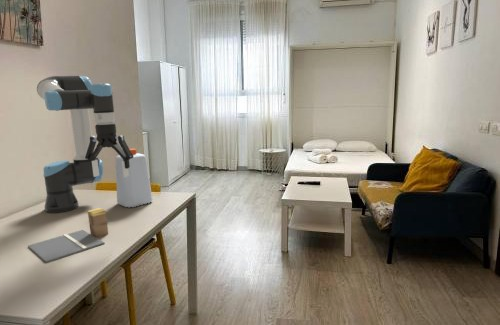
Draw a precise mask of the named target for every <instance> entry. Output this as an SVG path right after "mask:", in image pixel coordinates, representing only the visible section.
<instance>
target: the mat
mask: <svg viewBox="0 0 500 325" xmlns="http://www.w3.org/2000/svg"><path fill="white" fill-rule="evenodd" d="M102 245H105V242H104V241H103V240H101V239H99V237H97V238H96V237H94V236H92V235H91V233H89V232H88V231H86V230H83V229H80V230H78V231H74V232H70V233H64V234H62V235H60V236H57V237H53V238H50V239H46V240H42V241H38V242H35V243H32V244H28V245H27V246H28V248H29V249H30V250H31V251H32V252H34V253H35V254H36V255H37V256H38V257H39V258H40V259H41V260H42V259H43V260H42V261H44V262H45V263H50V262H53V261H56V260H60V259H63V258H66V257H68V256H72V255H75V254H78V253H81V252H84V251H86V250H90V249H93V248H96V247H99V246H102Z"/></svg>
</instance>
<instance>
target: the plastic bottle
mask: <svg viewBox="0 0 500 325" xmlns="http://www.w3.org/2000/svg"><path fill="white" fill-rule="evenodd" d="M129 149H130V151H131V153H132V155H133V158H131V159H130V160H129V165H130V167H129V168H128V172H129V176H127V177H123V168H122V161H123V159H122V158H121V156H120V155H119V154H118V155H116V157H115V174H116V179H115V180H116V182H115V184H116V203H117V204H118V205H120V206H123V208H124V207H125V208H127V207H128V208H129V209H131V208H130V207H132V208H136V206H137V207H140V206H139V205H141V206H144V205H143V204H145V205H147V203H148V204H151V203H152V202H153V194H152V189H151V181H150V174H149V169H148V163H147V158H146V155H145V154H143V153H139V152H137V149H136V148H129ZM150 202H151V203H150Z"/></svg>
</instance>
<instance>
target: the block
mask: <svg viewBox="0 0 500 325" xmlns="http://www.w3.org/2000/svg"><path fill="white" fill-rule="evenodd" d="M106 211H107V210H106V209H104V208H101V207H97V208H95V209H91V210H87V215H88V216H87V217H88V224H89V232H90V233H89V234H91V235H92V236H94V237H96V238H100V237H103V236H107V235H109V227H108V220H107V212H106Z"/></svg>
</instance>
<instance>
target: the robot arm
mask: <svg viewBox="0 0 500 325" xmlns="http://www.w3.org/2000/svg"><path fill="white" fill-rule="evenodd" d="M36 92H37V95H38V96H39V97H40V98H41V99H42V100H44V103H45V107H46V109H47V110H48V111H69V110H70V119H71V125H72V126H71V127H72V133H73V134H72V136H73V142H74V150H75V151H74V152H75V156H74V157H73V158H72V160H73V162H70V161H69V160H66V159H65V160H58V161H55V162H51V163H48V164H46V165H45V166H44V167H43V177H44V184H45V192H46V198H45V203H44V211H45V212H46V213H49V214H51V213H52V214H54V213H55V214H56V213H63V212H64V213H65V212H69V211H71V210H75V209H76V208H78V207H79V201H78V198H77V196H76V194H75V192H74V190H73V187H74V186H79V185H80V186H81V185H86V184H93V183H97V182H100V181H101V180H102V178H103V176H104V175H103V174H104V165H103V161H102V159H100V158H99V154H100V153H101V151H102V150H103V148H111V149H113V150H114V151H115V152H116V153H117V154H118V155H120V156H121V158H122V159H123V161H122V168H123V177H127V176H129V172H128V168H129V167H130V165H129V160H130V159H131V158H133V155H132V153H131V151H130V149H131V148H129V146H128V144H127V143H126V140H125V136H124V135H118V136H117V127H116V124H115V122H116V116H115V107H114V96H113V93H114V92H113V89H112V86H111V84H110V83H92V81H91V79H90V78H89V77H88V76H85V75H52V76H48V77H45V78H43V79H42V80H40V81H39V82H38V84H37V86H36ZM91 109H92V110H93V117H94V124H95V125H94V128H95V134H96V135H93V133H92V132H93V131H92V124H91V123H92V122H91V116H90V110H91ZM97 142H98V143H97Z"/></svg>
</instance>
